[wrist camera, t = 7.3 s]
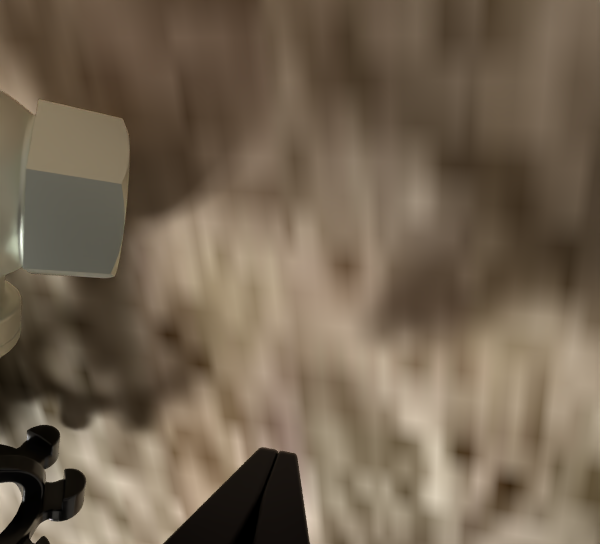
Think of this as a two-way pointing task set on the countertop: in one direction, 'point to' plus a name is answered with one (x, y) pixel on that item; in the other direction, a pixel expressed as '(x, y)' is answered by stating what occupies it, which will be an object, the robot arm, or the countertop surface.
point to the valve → (54, 258)
